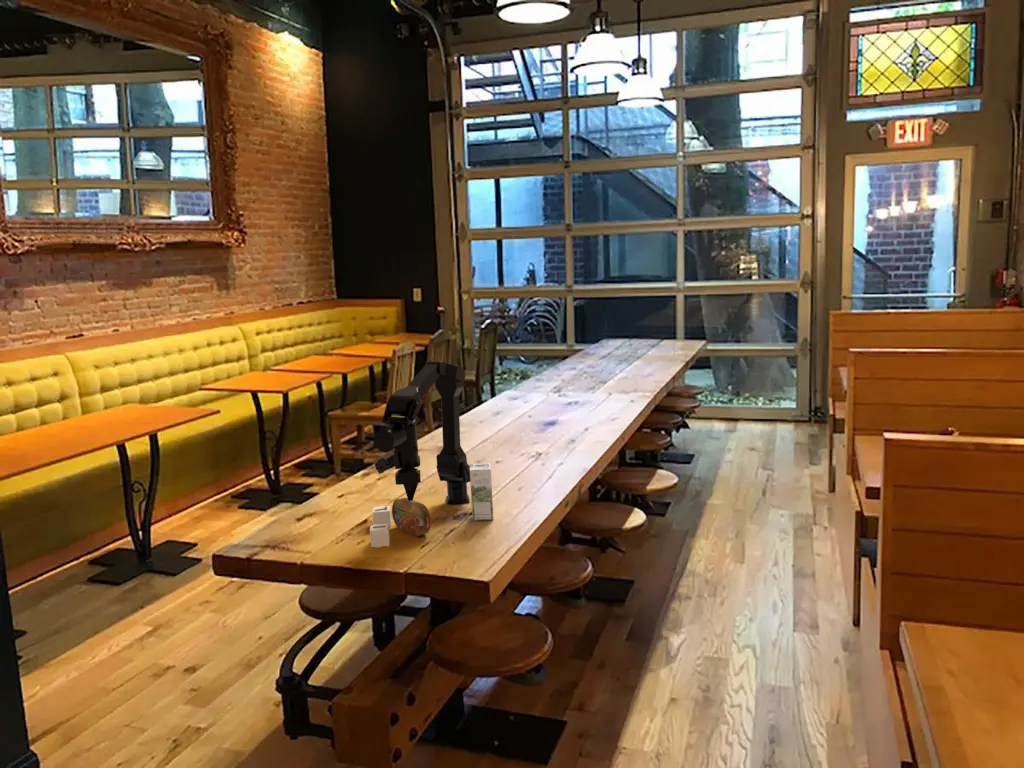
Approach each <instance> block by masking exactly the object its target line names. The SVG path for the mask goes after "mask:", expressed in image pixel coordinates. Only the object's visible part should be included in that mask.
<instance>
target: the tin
mask: <svg viewBox="0 0 1024 768" xmlns="http://www.w3.org/2000/svg"><path fill="white" fill-rule="evenodd" d="M391 517H392V519H393V522H394V524H395V526H396V527H397V529H399V530H400V529H401V530H400V531H402V530H403V532H405V533H408V534H409V535H412V536H414V537H420V536H423V535H426V534H428V533H429V531H430V530H431V523H432V522H431V514H430V511H429V508H428V507H427V506H426V505H425V504H424V503H422V502H419V501H416V500H414V499H413V500H412V501H408V498H407V497H403V498H397V499H395V500H394V501H393V503H392V507H391Z"/></svg>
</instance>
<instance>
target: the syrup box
mask: <svg viewBox="0 0 1024 768" xmlns="http://www.w3.org/2000/svg"><path fill="white" fill-rule="evenodd" d="M469 466H470V482H469V483H470V499H471V515H472V521H473V522H475V521H476V522H478V521H492V520H493V521H494V503H493V502H494V501H493V489H492V485H493V484H492V465H491V463H489V462H488V463H474V464H470V465H469Z"/></svg>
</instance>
